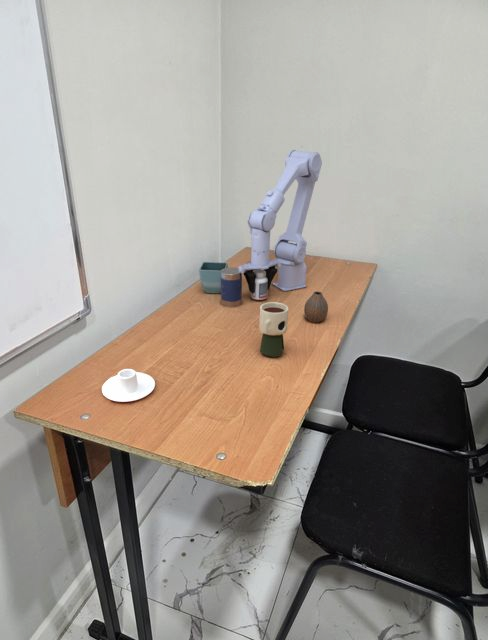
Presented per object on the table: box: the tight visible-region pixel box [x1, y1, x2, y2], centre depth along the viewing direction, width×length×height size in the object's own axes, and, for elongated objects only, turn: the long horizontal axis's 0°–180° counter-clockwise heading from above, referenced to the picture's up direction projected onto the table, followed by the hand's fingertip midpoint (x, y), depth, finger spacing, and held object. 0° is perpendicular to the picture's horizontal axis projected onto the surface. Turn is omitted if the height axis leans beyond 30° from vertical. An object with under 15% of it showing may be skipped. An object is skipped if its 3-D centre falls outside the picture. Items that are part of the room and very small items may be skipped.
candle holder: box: [101, 368, 156, 403], centre depth 101 cm, size 12×12×4 cm
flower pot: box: [198, 261, 229, 294], centre depth 152 cm, size 9×9×9 cm
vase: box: [303, 290, 329, 324], centre depth 132 cm, size 7×7×9 cm
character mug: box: [258, 301, 289, 358], centre depth 114 cm, size 11×7×13 cm, turn 154°
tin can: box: [220, 266, 243, 308], centre depth 143 cm, size 7×7×11 cm
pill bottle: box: [250, 269, 268, 301], centre depth 145 cm, size 5×5×9 cm
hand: (259, 290), depth 146 cm, fingers closed on pill bottle, 5 cm apart
